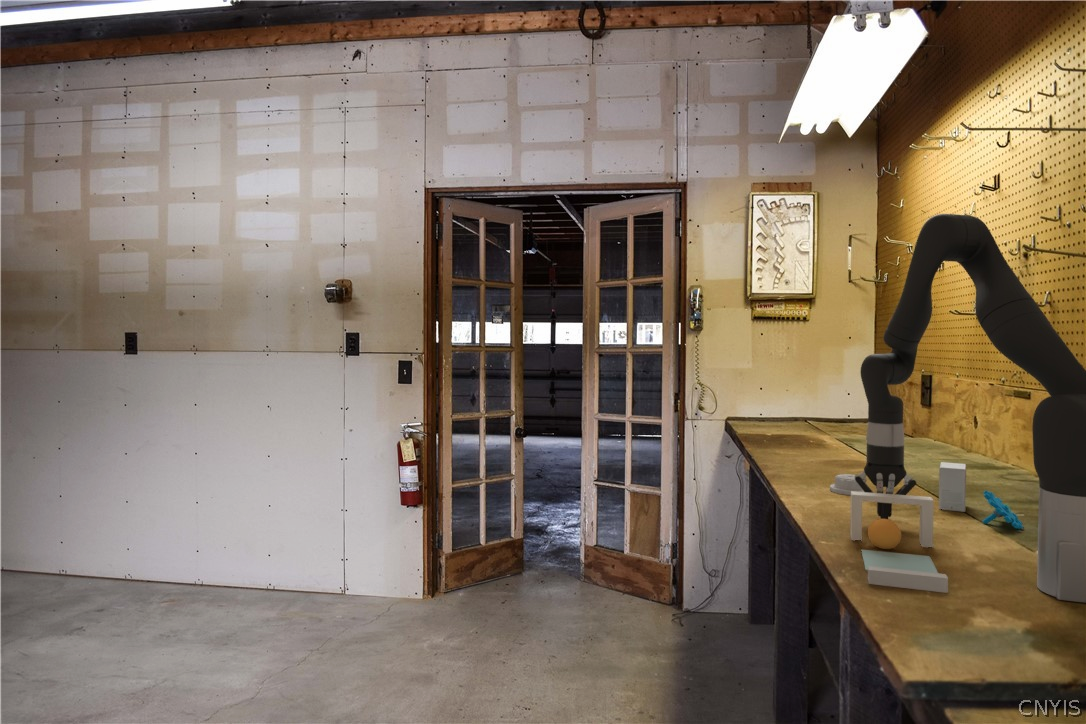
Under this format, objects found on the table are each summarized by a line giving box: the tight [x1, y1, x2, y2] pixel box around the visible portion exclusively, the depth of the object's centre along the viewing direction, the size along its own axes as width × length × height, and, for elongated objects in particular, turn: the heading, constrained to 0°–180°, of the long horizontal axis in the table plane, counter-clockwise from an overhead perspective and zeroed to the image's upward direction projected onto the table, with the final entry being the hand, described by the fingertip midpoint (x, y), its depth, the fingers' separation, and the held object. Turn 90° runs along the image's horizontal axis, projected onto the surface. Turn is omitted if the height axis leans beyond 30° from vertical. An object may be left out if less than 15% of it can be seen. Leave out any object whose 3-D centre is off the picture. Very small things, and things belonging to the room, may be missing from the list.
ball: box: [867, 518, 902, 550], centre depth 136 cm, size 6×6×6 cm
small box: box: [938, 461, 967, 513], centre depth 166 cm, size 8×6×10 cm
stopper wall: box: [867, 566, 949, 594], centre depth 116 cm, size 2×12×2 cm, turn 68°
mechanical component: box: [829, 473, 864, 496], centre depth 184 cm, size 10×4×10 cm
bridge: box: [850, 491, 935, 549], centre depth 140 cm, size 3×15×10 cm, turn 68°
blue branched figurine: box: [981, 489, 1025, 530], centre depth 151 cm, size 11×6×10 cm
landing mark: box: [860, 549, 939, 574], centre depth 127 cm, size 12×12×1 cm
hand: (884, 518), depth 152 cm, fingers closed
